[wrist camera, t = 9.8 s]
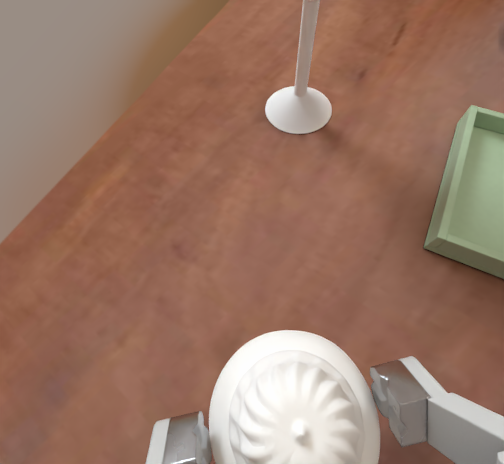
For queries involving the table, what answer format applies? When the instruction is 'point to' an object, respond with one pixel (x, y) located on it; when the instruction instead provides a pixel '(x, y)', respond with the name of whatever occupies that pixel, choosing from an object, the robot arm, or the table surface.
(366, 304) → the table surface
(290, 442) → the muffin
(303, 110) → the champagne flute
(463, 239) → the tray
